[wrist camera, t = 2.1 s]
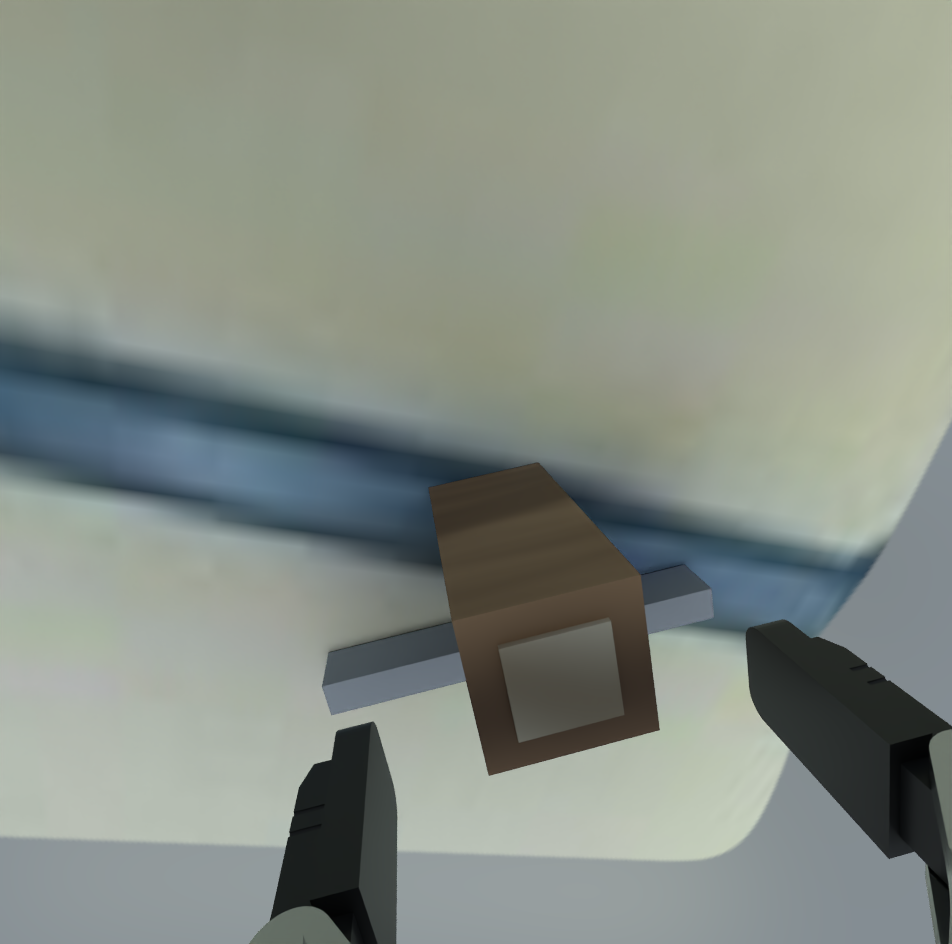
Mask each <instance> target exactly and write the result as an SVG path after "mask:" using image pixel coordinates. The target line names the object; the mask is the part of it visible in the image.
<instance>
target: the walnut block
mask: <svg viewBox="0 0 952 944" xmlns="http://www.w3.org/2000/svg"><path fill="white" fill-rule="evenodd" d="M429 494H430V499H431V505H432V511H433V516H434V522H435V528H436V534H437V539H438V545H439V551H440V556H441V562H442V568H443V574H444V579H445V585H446V591H447V596H448V602H449V608H450V613H451V619H452V624H453V628H454V632H455V636H456V641H457V645H458V649H459V653H460V657H461V662H462V666H463V670H464V674H465V678H466V682H467V687H468V691H469V695H470V699H471V703H472V708H473V712H474V716H475V720H476V724H477V728H478V733H479V737H480V741H481V745H482V749H483V754H484V758H485V762H486V766H487V770H488V774H489V776H490V775H494V774H497V773H501V772H505V771H509V770H512V769H516V768H520V767H524V766H527V765H531V764H535V763H539V762H542V761H546V760H550V759H553V758H557V757H561V756H565V755H568V754H572V753H576V752H580V751H583V750H587V749H591V748H595V747H598V746H602V745H606V744H610V743H613V742H617V741H621V740H624V739H628V738H632V737H636V736H639V735H643V734H647V733H651V732H654V731H658V730H660V729H659V721H658V712H657V704H656V696H655V688H654V680H653V672H652V663H651V655H650V647H649V639H648V631H647V623H646V614H645V606H644V598H643V590H642V582H641V575H640V573H639V572H638V571H637V570H636V569H635V568H634V567H633V566H632V565H631V564H630V563H629V561H628V560H627V559H626V558H625V557H624V556H623V555H622V554H621V553H620V552H619V550H618V549H617V548H616V547H615V546H614V545H613V544H612V543H611V542H610V541H609V539H608V538H607V537H606V536H605V535H604V534H603V533H602V532H601V531H600V530H599V528H598V527H597V526H596V525H595V524H594V523H593V522H592V521H591V520H590V519H589V518H588V516H587V515H586V514H585V513H584V512H583V511H582V510H581V509H580V508H579V507H578V505H577V504H576V503H575V502H574V501H573V500H572V499H571V498H570V497H569V496H568V494H567V493H566V492H565V491H564V490H563V489H562V488H561V487H560V486H559V485H558V483H557V482H556V481H555V480H554V479H553V478H552V477H551V476H550V475H549V474H548V473H547V471H546V470H545V469H544V468H543V467H542V466H541V465H540V464H539V463H534V464H529V465H525V466H521V467H516V468H512V469H507V470H503V471H499V472H494V473H490V474H486V475H481V476H477V477H473V478H468V479H464V480H460V481H455V482H451V483H446V484H442V485H438V486H433V487H429Z"/></svg>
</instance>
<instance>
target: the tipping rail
mask: <svg viewBox="0 0 952 944" xmlns="http://www.w3.org/2000/svg"><path fill="white" fill-rule="evenodd" d="M641 582H642V590H643V598H644V606H645V614H646V623H647V631H648V634H652V633H656V632H659V631H663V630H667V629H671V628H675V627H679V626H683V625H687V624H691V623H695V622H699V621H703V620H706V619H710V618H714V612H713V600H712V589H711V588H710V587H709V586H708V585H707V584H706V583H705V582H704V581H702V580H701V579H700V578H699V577H698V576H697V575H696V574H695V573H694V572H692V571H691V570H690V569H689V568H688V567H687V566H686V565H681V566H677V567H673V568H669V569H665V570H661V571H657V572H653V573H649V574H645V575H641ZM464 681H466V678H465V674H464V670H463V666H462V662H461V657H460V653H459V649H458V645H457V641H456V636H455V632H454V628H453V624H452V622H451V623H447V624H443V625H439V626H435V627H431V628H427V629H423V630H418V631H414V632H410V633H406V634H402V635H398V636H394V637H390V638H386V639H382V640H378V641H374V642H370V643H366V644H362V645H358V646H354V647H350V648H346V649H342V650H338V651H334V652H330V653H329V654H328V659H327V664H326V669H325V674H324V679H323V684H322V688H323V691H324V694H325V697H326V700H327V703H328V706H329V709H330V712H331V715H334V714H338V713H342V712H346V711H350V710H354V709H358V708H362V707H366V706H370V705H374V704H378V703H381V702H385V701H389V700H393V699H397V698H401V697H405V696H409V695H413V694H417V693H421V692H424V691H428V690H432V689H436V688H440V687H444V686H448V685H452V684H456V683H460V682H464Z"/></svg>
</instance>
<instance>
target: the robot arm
mask: <svg viewBox="0 0 952 944" xmlns="http://www.w3.org/2000/svg"><path fill="white" fill-rule="evenodd" d="M746 649H747V662H748V676H749V689H750V694H751V698H752V701H753V703H754V705H755V708H756V710H757V711H758V713H759V715H760V716H761V718H762V719H763V720H764V721H765V723H766V724H767V725H768V726H769V727H770V728H771V729H772V730H773V731H774V733H775V734H776V735H777V736H778V737H779V738H780V739H781V740H782V741H783V742H784V744H785V745H786V746H787V747H788V748H789V749H790V750H791V751H792V752H793V754H795V756H796V757H797V758H798V759H799V760H800V761H801V762H802V763H803V765H804V766H805V767H806V768H807V769H808V770H809V771H810V772H811V773H812V774H813V776H814V777H815V778H816V779H817V780H818V781H819V782H820V783H821V784H822V786H823V787H824V788H825V789H826V790H827V791H828V792H829V793H830V794H831V795H832V797H833V798H834V799H835V800H836V801H837V802H838V803H839V804H840V805H841V806H842V808H843V809H844V810H845V811H846V812H847V813H848V814H849V815H850V816H851V817H852V819H853V820H854V821H855V822H856V823H857V824H858V825H859V826H860V827H861V828H862V830H863V831H864V832H865V833H866V834H867V835H868V836H869V837H870V838H871V840H872V841H873V842H874V843H875V844H876V845H877V846H878V847H879V848H880V850H881V851H882V852H883V853H884V854H885V855H886V856H887V857H888V858H889V859H890V858H894V857H897V856H901V855H904V854H908V853H911V852H916V853H917V854H918V856H919V857H920V858H921V859H922V860H923V861H924V862H925V863H926V865H925V879H926V885H927V891H928V898H929V905H930V911H931V917H932V924H933V930H934V936H935V943H936V944H952V726H951V725H949V724H948V723H947V722H945V721H944V720H943V719H941V718H940V717H939V716H937V715H936V714H934V713H933V712H932V711H930V710H929V709H928V708H926V707H925V706H923V705H922V704H921V703H919V702H918V701H917V700H915V699H914V698H913V697H911V696H910V695H909V694H907V693H906V692H905V691H903V690H902V689H901V688H899V687H898V686H897V685H895V684H894V683H892V682H891V681H887V680H886V679H885V677H884V676H883V675H882V674H880V673H879V672H877V671H876V670H875V669H873V668H872V667H868V666H867V663H865V662H864V661H863V660H861V659H860V658H859V657H857V656H856V655H854V654H853V653H852V652H850V651H849V650H848V649H846V648H844V647H842V646H839V645H837V644H834V643H832V642H830V641H827V640H825V639H822V638H820V637H815V638H810V637H808V636H807V635H806V634H804V633H803V632H802V631H801V630H799V629H798V628H797V627H795V626H794V625H793V624H792V623H790V622H789V621H787V620H783V619H782V620H778V621H774V622H770V623H766V624H762V625H758V626H754V627H750V628H748V630H747V632H746ZM289 833H290V837H288V841H287V845H286V850H285V854H284V859H283V864H282V868H281V873H280V878H279V882H278V887H277V892H276V896H275V900H274V905H273V910H272V914H271V918H270V921H269V922H268V923H267V924H266V925H265V926H264V927H263V928H262V929H261V930H260V931H259V932H258V933H257V934H256V935H255V936H254V938H253V939H252V940H251V942H250V943H249V944H396V904H397V805H396V797H395V791H394V786H393V781H392V778H391V774H390V771H389V767H388V764H387V761H386V757H385V754H384V750H383V747H382V743H381V740H380V737H379V733H378V730H377V727H376V725H375V723H374V722H369V723H365V724H361V725H357V726H353V727H349V728H346V729H342V730H338V731H337V732H336V736H335V742H334V748H333V755H332V760H329V761H325V762H321V763H317V764H314V765H313V767H312V768H311V770H310V771H309V773H308V775H307V776H306V778H305V779H304V781H303V782H302V784H301V785H300V787H299V790H298V795H297V799H296V804H295V809H294V817H293V818H292V822H291V827H290V831H289Z"/></svg>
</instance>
